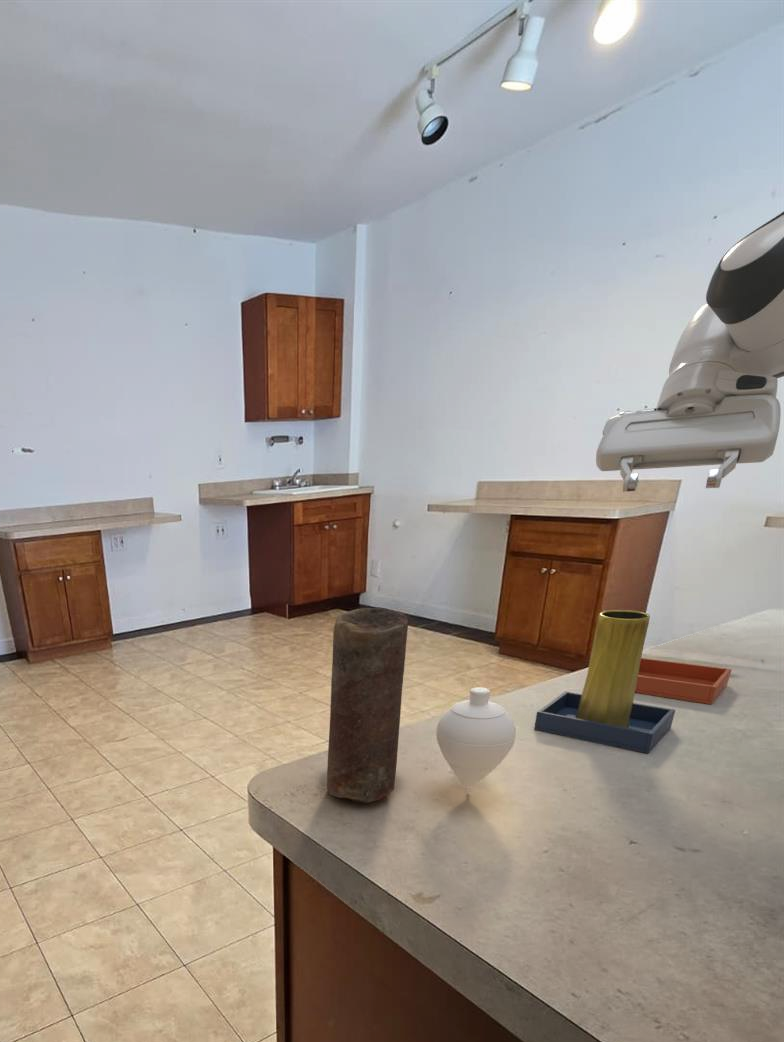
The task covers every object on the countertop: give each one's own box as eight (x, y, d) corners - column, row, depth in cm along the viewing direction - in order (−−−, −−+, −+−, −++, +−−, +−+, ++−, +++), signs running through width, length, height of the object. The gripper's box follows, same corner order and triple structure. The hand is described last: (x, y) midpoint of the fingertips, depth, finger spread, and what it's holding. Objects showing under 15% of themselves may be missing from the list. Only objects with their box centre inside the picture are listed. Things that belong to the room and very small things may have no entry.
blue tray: (670, 728, 81) (675, 709, 80) (648, 753, 75) (653, 734, 74) (562, 708, 90) (565, 691, 89) (533, 729, 84) (536, 711, 83)
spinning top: (438, 774, 74) (447, 675, 69) (509, 784, 71) (525, 681, 65) (424, 803, 68) (433, 697, 63) (502, 816, 65) (518, 705, 60)
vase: (586, 713, 86) (607, 607, 80) (636, 723, 82) (663, 612, 76) (566, 725, 83) (586, 616, 77) (617, 737, 79) (643, 622, 72)
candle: (405, 787, 72) (418, 609, 63) (382, 816, 66) (392, 625, 58) (342, 774, 76) (346, 605, 67) (315, 800, 70) (316, 620, 62)
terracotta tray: (726, 685, 93) (731, 668, 92) (711, 704, 87) (716, 687, 86) (626, 671, 102) (629, 656, 101) (605, 688, 96) (609, 672, 95)
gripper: (608, 397, 93) (582, 474, 90) (794, 375, 81) (770, 463, 78) (608, 431, 98) (583, 505, 95) (783, 415, 86) (760, 500, 83)
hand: (669, 486), depth 86 cm, fingers open, 8 cm apart
